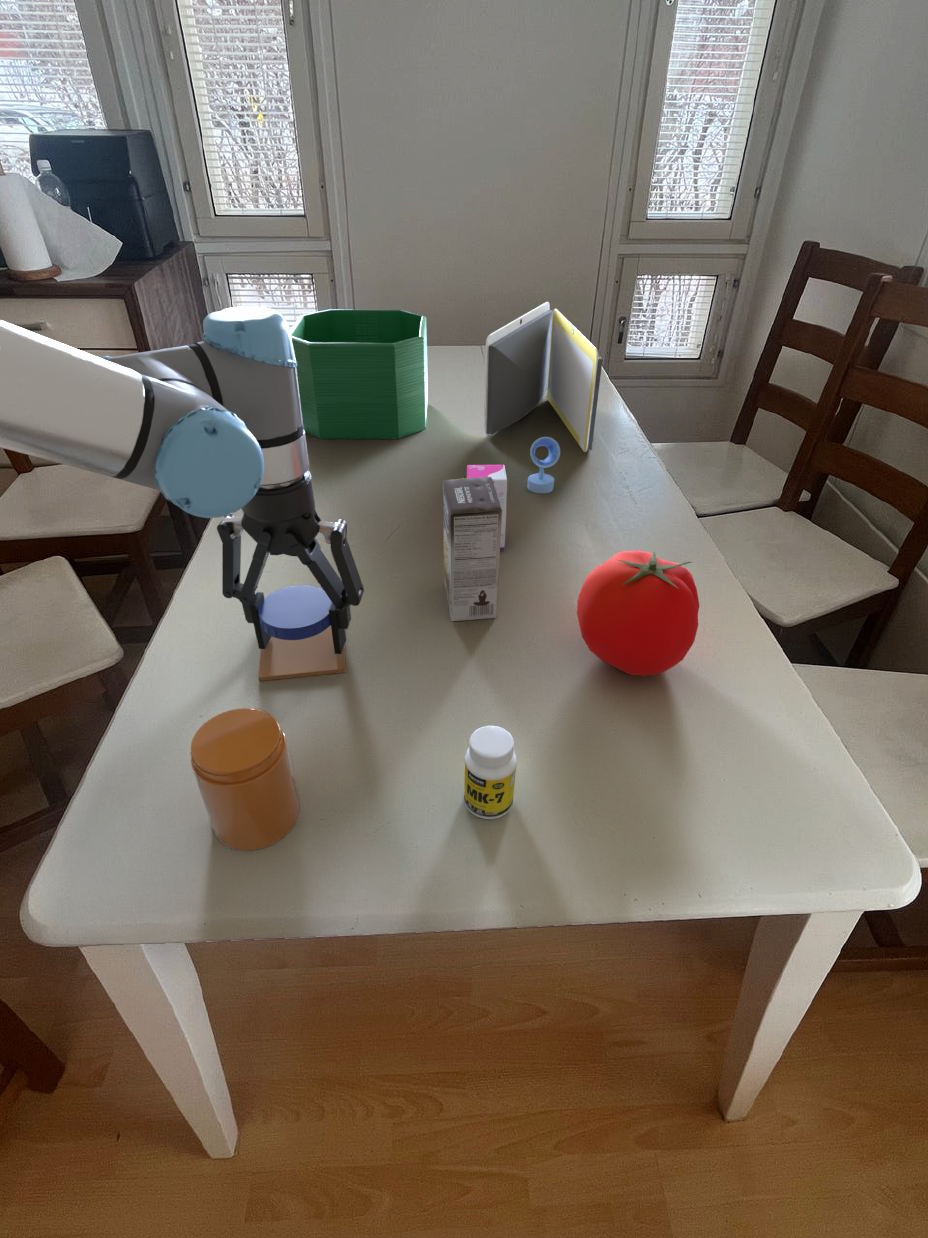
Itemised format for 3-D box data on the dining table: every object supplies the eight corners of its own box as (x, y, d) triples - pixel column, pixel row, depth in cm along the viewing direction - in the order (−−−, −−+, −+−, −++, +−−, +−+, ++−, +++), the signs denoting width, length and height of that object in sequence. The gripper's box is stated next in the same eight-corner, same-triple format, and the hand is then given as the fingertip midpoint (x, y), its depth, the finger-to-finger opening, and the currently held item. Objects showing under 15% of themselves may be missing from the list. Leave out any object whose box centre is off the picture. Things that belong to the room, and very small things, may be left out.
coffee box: (442, 583, 97) (441, 477, 87) (487, 580, 97) (491, 475, 88) (450, 623, 89) (450, 512, 80) (499, 619, 90) (504, 509, 80)
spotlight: (556, 497, 117) (552, 479, 123) (562, 441, 111) (558, 425, 117) (527, 497, 117) (525, 479, 123) (531, 441, 111) (528, 425, 117)
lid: (340, 596, 85) (339, 584, 84) (329, 640, 78) (328, 629, 77) (269, 595, 85) (266, 584, 84) (252, 640, 78) (249, 628, 77)
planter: (293, 439, 136) (279, 343, 125) (314, 393, 157) (303, 308, 146) (425, 439, 137) (423, 344, 126) (428, 394, 157) (426, 309, 146)
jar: (207, 856, 62) (179, 780, 55) (218, 786, 68) (194, 710, 62) (298, 844, 63) (281, 768, 57) (300, 776, 69) (285, 701, 63)
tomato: (708, 689, 80) (737, 592, 71) (595, 705, 77) (612, 606, 69) (652, 610, 92) (671, 519, 84) (553, 622, 90) (563, 529, 81)
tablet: (604, 452, 132) (619, 347, 121) (493, 460, 129) (497, 352, 117) (554, 390, 160) (562, 300, 148) (462, 395, 157) (462, 303, 145)
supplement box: (502, 531, 108) (506, 463, 101) (504, 551, 103) (508, 481, 97) (465, 531, 108) (466, 463, 101) (466, 551, 103) (466, 481, 96)
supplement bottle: (458, 815, 65) (458, 755, 60) (470, 777, 69) (471, 717, 64) (508, 825, 65) (512, 765, 60) (517, 786, 68) (522, 727, 63)
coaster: (258, 681, 80) (258, 677, 80) (264, 629, 88) (263, 625, 88) (345, 672, 82) (345, 668, 81) (343, 621, 89) (342, 617, 89)
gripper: (383, 462, 73) (394, 630, 87) (186, 453, 74) (229, 620, 88) (368, 495, 67) (383, 670, 81) (155, 484, 68) (206, 658, 82)
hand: (303, 644), depth 84 cm, fingers closed on lid, 9 cm apart
